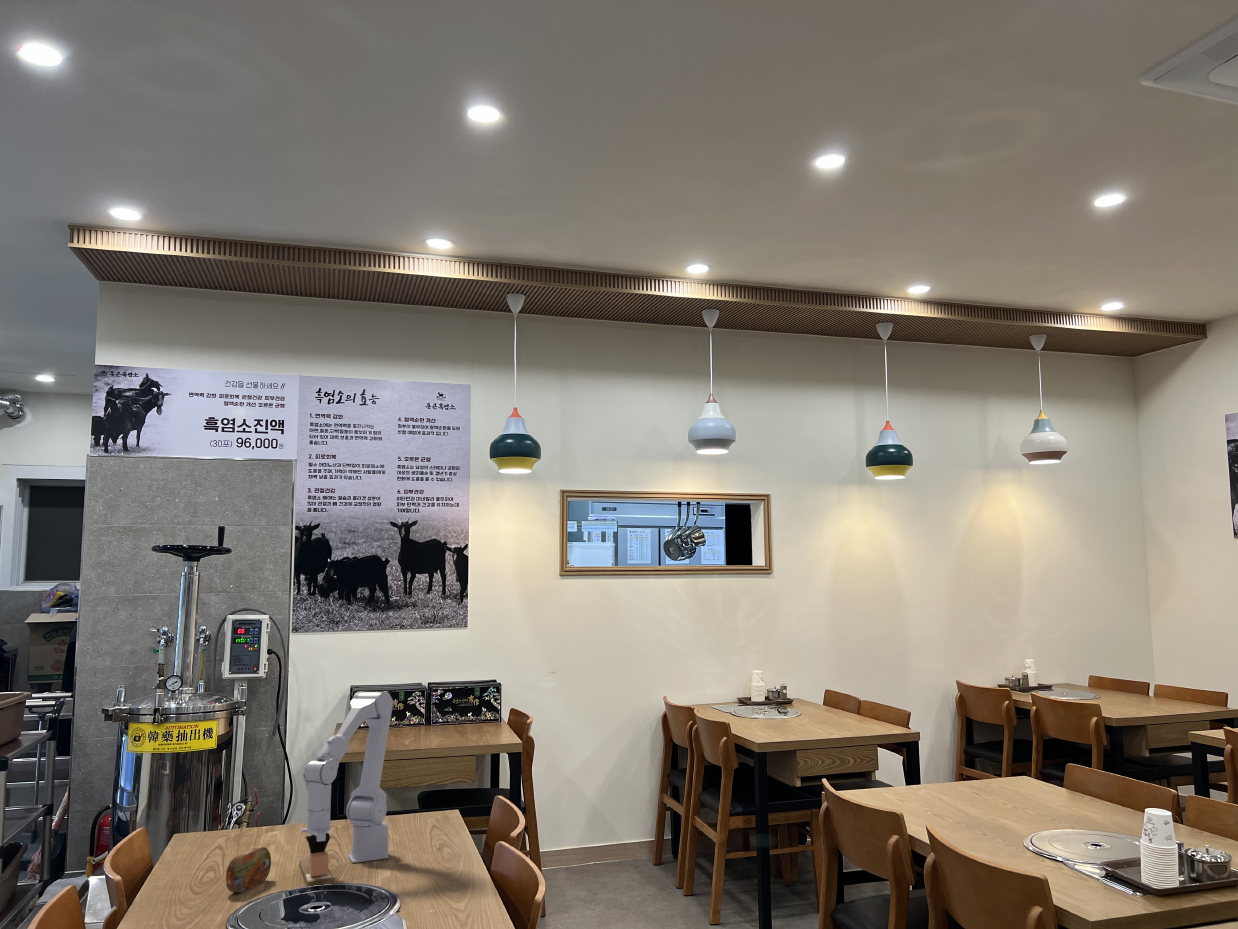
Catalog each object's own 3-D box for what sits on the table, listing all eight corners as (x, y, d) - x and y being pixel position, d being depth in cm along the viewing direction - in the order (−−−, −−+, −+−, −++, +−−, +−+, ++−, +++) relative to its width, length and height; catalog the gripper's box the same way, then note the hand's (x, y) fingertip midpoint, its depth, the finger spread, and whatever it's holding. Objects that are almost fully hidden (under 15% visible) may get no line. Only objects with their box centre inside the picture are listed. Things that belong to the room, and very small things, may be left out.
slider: (325, 870, 217) (326, 851, 217) (327, 874, 213) (328, 855, 214) (309, 872, 215) (309, 853, 216) (310, 876, 211) (311, 857, 212)
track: (322, 863, 230) (322, 857, 230) (333, 885, 211) (333, 878, 211) (299, 866, 228) (299, 860, 228) (307, 888, 208) (307, 882, 208)
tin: (234, 897, 203) (235, 860, 204) (222, 897, 204) (224, 859, 205) (271, 878, 217) (273, 843, 219) (260, 878, 218) (262, 843, 220)
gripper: (299, 805, 225) (297, 861, 222) (305, 816, 212) (302, 875, 209) (327, 802, 228) (326, 857, 225) (334, 813, 215) (333, 871, 212)
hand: (316, 865), depth 217 cm, fingers closed
